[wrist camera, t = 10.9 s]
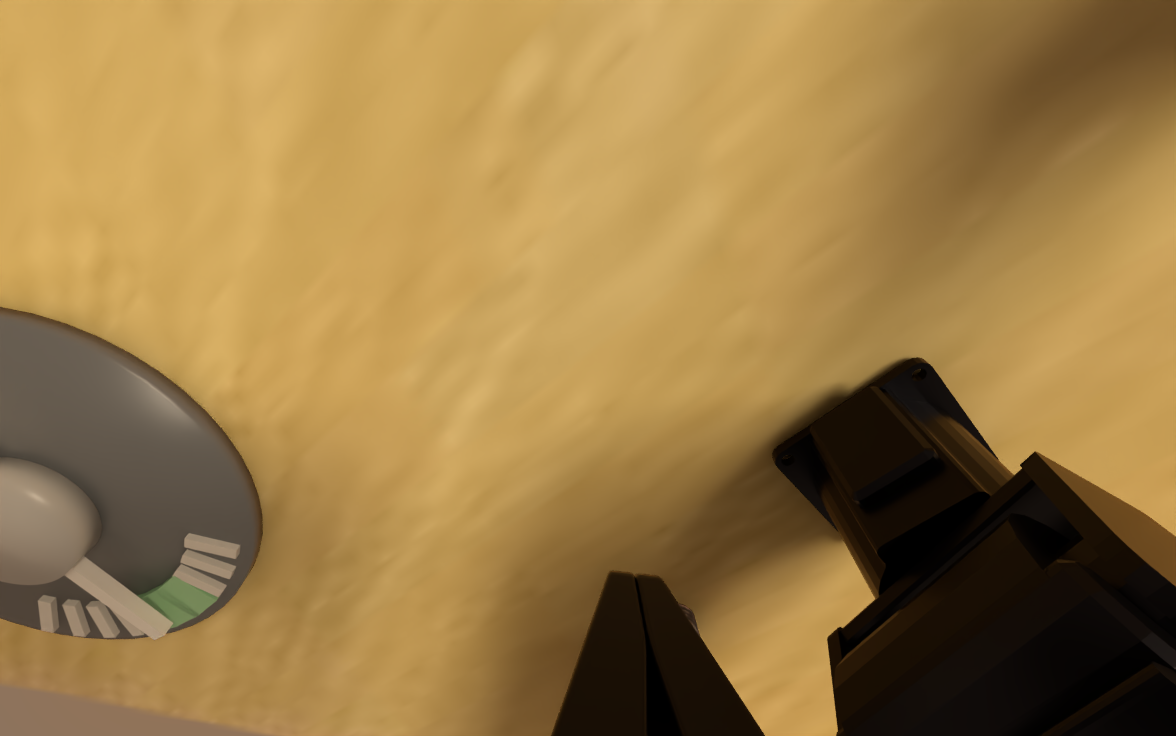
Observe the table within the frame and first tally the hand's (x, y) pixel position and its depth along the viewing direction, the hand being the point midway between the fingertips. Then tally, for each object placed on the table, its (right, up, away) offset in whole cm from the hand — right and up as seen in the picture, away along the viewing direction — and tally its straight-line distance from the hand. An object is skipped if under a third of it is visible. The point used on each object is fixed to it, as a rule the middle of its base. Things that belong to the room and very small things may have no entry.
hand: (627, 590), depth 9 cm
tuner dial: (-22, -1, +14) cm, 26 cm away
